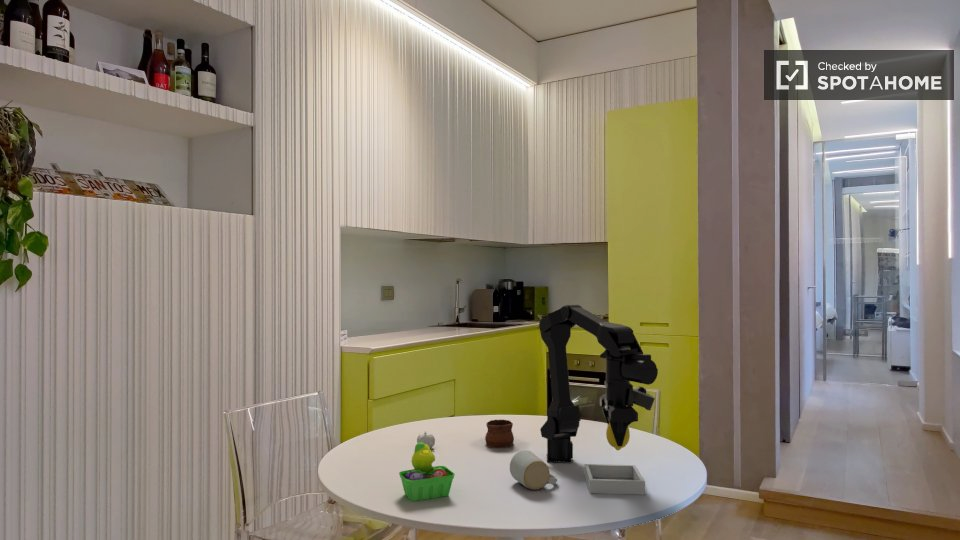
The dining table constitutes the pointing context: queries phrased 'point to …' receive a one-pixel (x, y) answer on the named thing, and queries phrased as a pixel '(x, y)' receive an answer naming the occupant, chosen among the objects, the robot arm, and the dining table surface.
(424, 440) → the garlic
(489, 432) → the ceramic pot
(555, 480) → the ceramic mug
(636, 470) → the corral
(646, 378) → the robot arm
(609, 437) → the lemon
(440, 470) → the fruit basket
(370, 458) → the dining table surface
